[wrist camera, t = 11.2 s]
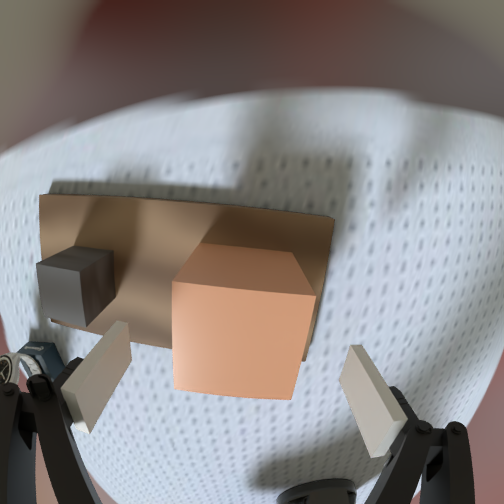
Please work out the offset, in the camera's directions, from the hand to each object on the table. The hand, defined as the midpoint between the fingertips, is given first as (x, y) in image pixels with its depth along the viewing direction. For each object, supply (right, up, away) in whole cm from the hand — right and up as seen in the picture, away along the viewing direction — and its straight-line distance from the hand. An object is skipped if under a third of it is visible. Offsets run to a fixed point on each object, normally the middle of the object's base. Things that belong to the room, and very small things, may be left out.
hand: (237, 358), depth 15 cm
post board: (-7, +4, +10) cm, 13 cm away
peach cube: (0, +3, +9) cm, 9 cm away
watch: (-27, -8, +13) cm, 31 cm away
